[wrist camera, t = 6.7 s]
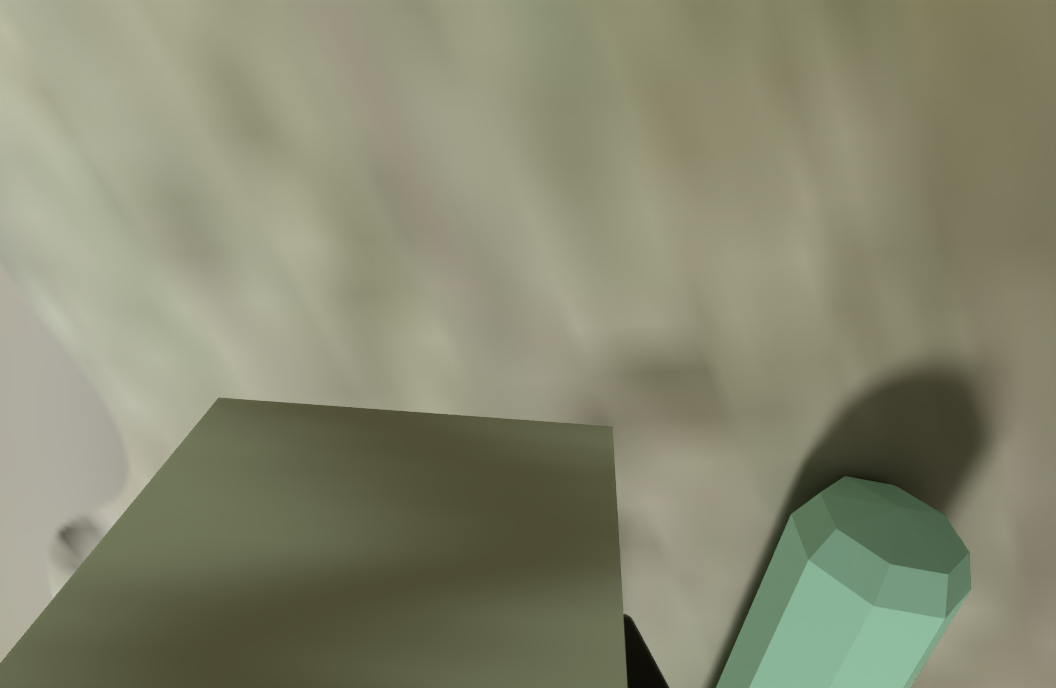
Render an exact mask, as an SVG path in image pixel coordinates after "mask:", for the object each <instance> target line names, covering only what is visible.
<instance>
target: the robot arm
mask: <svg viewBox="0 0 1056 688" xmlns="http://www.w3.org/2000/svg"><path fill="white" fill-rule="evenodd" d="M623 618H624V636H625V653H626V670H627V688H669V686H668V684H667V682H666V681H665V679H664V677H663V675H662V673H661V671H660V669H659V668H658V666H657V664H656V662H655V660H654V658H653V656H652V655H651V653H650V651H649V649H648V647H647V645H646V643H645V642H644V640H643V638H642V636H641V634H640V632H639V630H638V629H637V627H636V625H635V623H634V621H633V620H632V618H631V617H630V616H628V615H626V614H623Z"/></svg>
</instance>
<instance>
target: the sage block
mask: <svg viewBox="0 0 1056 688" xmlns="http://www.w3.org/2000/svg"><path fill="white" fill-rule="evenodd" d="M0 688H627V670H626V653H625V636H624V618H623V601H622V584H621V566H620V549H619V532H618V514H617V497H616V480H615V462H614V445H613V428H612V427H611V426H598V425H584V424H570V423H557V422H543V421H529V420H516V419H502V418H488V417H475V416H461V415H448V414H434V413H420V412H407V411H393V410H379V409H366V408H352V407H338V406H325V405H311V404H297V403H284V402H270V401H257V400H243V399H229V398H218V399H217V400H216V402H215V403H214V404H213V405H212V406H211V408H210V409H209V410H208V411H207V412H206V414H205V415H204V416H203V417H202V419H201V420H200V421H199V422H198V423H197V425H196V426H195V427H194V428H193V430H192V431H191V432H190V433H189V434H188V436H187V437H186V438H185V439H184V440H183V442H182V443H181V444H180V445H179V447H178V448H177V449H176V450H175V451H174V453H173V454H172V455H171V456H170V457H169V459H168V460H167V461H166V462H165V464H164V465H163V466H162V467H161V468H160V470H159V471H158V472H157V473H156V475H155V476H154V477H153V478H152V479H151V481H150V482H149V483H148V484H147V485H146V487H145V488H144V489H143V490H142V492H141V493H140V494H139V495H138V496H137V498H136V499H135V500H134V501H133V502H132V504H131V505H130V506H129V507H128V509H127V510H126V511H125V512H124V513H123V515H122V516H121V517H120V518H119V519H118V521H117V522H116V523H115V524H114V526H113V527H112V528H111V529H110V530H109V532H108V533H107V534H106V535H105V537H104V538H103V539H102V540H101V541H100V543H99V544H98V545H97V546H96V547H95V549H94V550H93V551H92V552H91V554H90V555H89V556H88V557H87V558H86V560H85V561H84V562H83V563H82V564H81V566H80V567H79V568H78V569H77V571H76V572H75V573H74V574H73V575H72V577H71V578H70V579H69V580H68V582H67V583H66V584H65V585H64V586H63V588H62V589H61V590H60V591H59V592H58V594H57V595H56V596H55V597H54V599H53V600H52V601H51V602H50V604H49V605H48V606H47V607H46V608H45V610H44V611H43V612H42V613H41V614H40V616H39V617H38V618H37V619H36V620H35V622H34V623H33V624H32V625H31V627H30V628H29V629H28V630H27V631H26V633H25V634H24V635H23V636H22V637H21V639H20V640H19V641H18V642H17V644H16V645H15V646H14V647H13V648H12V650H11V651H10V652H9V653H8V654H7V656H6V657H5V658H4V659H3V661H2V662H1V663H0Z"/></svg>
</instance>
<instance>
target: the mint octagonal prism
mask: <svg viewBox="0 0 1056 688" xmlns="http://www.w3.org/2000/svg"><path fill="white" fill-rule="evenodd" d="M970 590H971V575H970V552H969V551H968V549H967V548H966V546H965V545H964V543H963V542H962V540H961V539H960V537H959V536H958V534H957V533H956V531H955V530H954V528H953V527H952V525H951V524H950V522H949V521H948V519H947V518H946V516H945V515H944V514H942V513H941V512H939V511H937V510H936V509H934V508H932V507H931V506H929V505H927V504H925V503H924V502H922V501H920V500H919V499H917V498H915V497H914V496H912V495H910V494H909V493H907V492H905V491H903V490H902V489H900V488H898V487H897V486H895V485H891V484H886V483H880V482H875V481H869V480H864V479H858V478H852V477H847V476H844V477H843V478H841V479H840V480H838V481H837V482H835V483H834V484H832V485H831V486H829V487H828V488H826V489H825V490H823V491H822V492H820V493H819V494H818V495H816V496H815V497H814V498H812V499H811V500H810V501H808V502H807V503H805V504H804V505H803V506H801V507H800V508H799V509H797V510H796V511H795V512H793V513H792V514H791V515H790V518H789V520H788V522H787V525H786V527H785V529H784V532H783V534H782V536H781V539H780V541H779V543H778V545H777V548H776V550H775V552H774V555H773V557H772V559H771V562H770V564H769V566H768V569H767V571H766V573H765V576H764V578H763V580H762V582H761V585H760V587H759V589H758V592H757V594H756V596H755V599H754V601H753V603H752V606H751V608H750V610H749V613H748V615H747V617H746V619H745V622H744V624H743V626H742V629H741V631H740V633H739V636H738V638H737V640H736V643H735V645H734V647H733V650H732V652H731V654H730V656H729V659H728V661H727V663H726V666H725V668H724V670H723V673H722V675H721V677H720V680H719V682H718V684H717V687H716V688H910V687H911V686H912V684H913V682H914V681H915V679H916V677H917V676H918V674H919V673H920V671H921V669H922V668H923V666H924V664H925V663H926V661H927V660H928V658H929V656H930V655H931V653H932V651H933V650H934V648H935V647H936V645H937V643H938V642H939V640H940V638H941V637H942V635H943V634H944V632H945V630H946V629H947V627H948V626H949V624H950V622H951V621H952V619H953V617H954V616H955V614H956V613H957V611H958V609H959V608H960V606H961V604H962V603H963V601H964V600H965V598H966V596H967V595H968V593H969V591H970Z"/></svg>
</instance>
